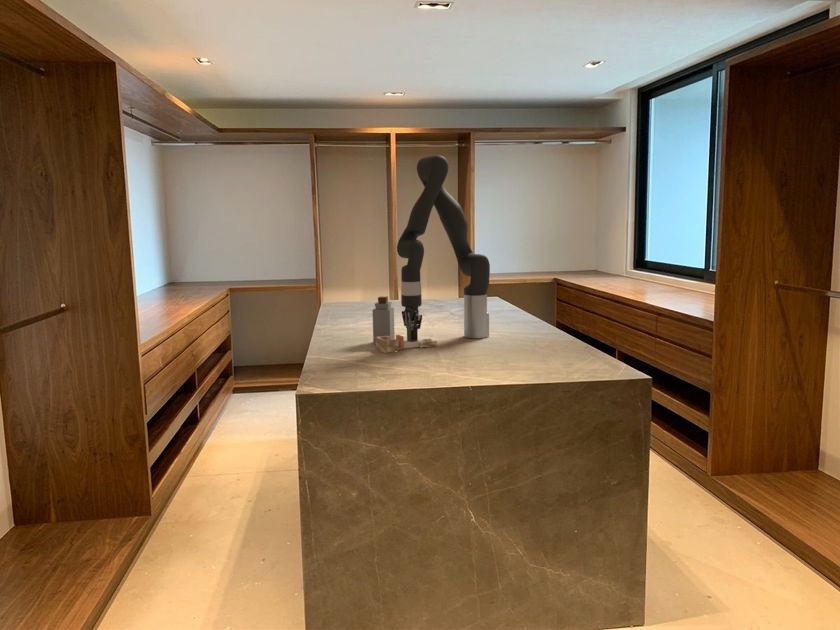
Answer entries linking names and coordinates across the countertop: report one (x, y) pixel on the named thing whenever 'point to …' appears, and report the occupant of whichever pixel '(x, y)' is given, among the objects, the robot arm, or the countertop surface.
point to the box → (386, 344)
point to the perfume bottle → (383, 319)
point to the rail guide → (427, 343)
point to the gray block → (408, 340)
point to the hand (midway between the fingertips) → (412, 338)
